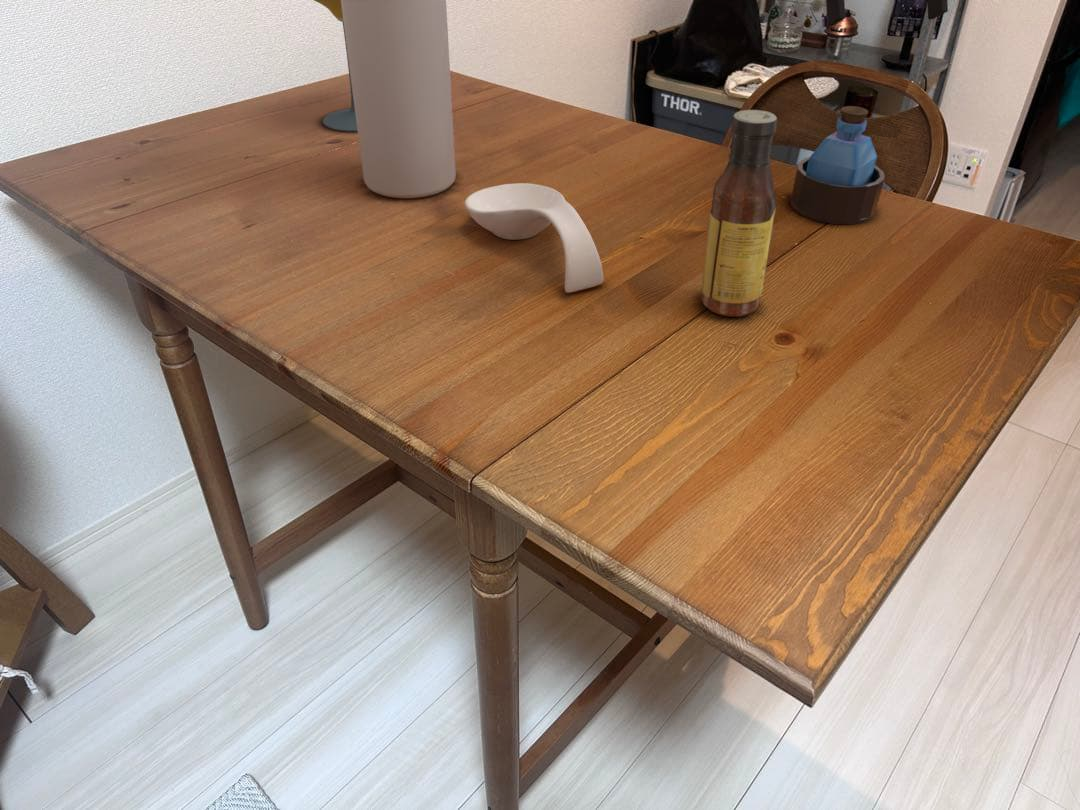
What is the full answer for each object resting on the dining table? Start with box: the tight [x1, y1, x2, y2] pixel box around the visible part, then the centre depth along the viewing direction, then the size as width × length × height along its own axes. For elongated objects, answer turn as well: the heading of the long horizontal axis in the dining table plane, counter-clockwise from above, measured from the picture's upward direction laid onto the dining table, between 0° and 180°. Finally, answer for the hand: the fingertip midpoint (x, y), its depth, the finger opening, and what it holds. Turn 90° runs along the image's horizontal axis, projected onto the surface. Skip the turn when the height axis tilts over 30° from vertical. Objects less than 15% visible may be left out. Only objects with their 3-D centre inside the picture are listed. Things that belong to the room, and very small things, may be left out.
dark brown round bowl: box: [789, 156, 886, 226], centre depth 105 cm, size 11×11×5 cm
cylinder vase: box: [341, 0, 457, 199], centre depth 104 cm, size 12×12×25 cm
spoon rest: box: [464, 182, 604, 294], centre depth 94 cm, size 24×12×7 cm, turn 28°
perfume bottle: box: [806, 105, 878, 185], centre depth 103 cm, size 6×6×12 cm
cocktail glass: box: [313, 0, 358, 133], centre depth 124 cm, size 18×18×25 cm
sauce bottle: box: [700, 109, 778, 318], centre depth 81 cm, size 6×6×20 cm
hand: (887, 19), depth 99 cm, fingers open, 13 cm apart
